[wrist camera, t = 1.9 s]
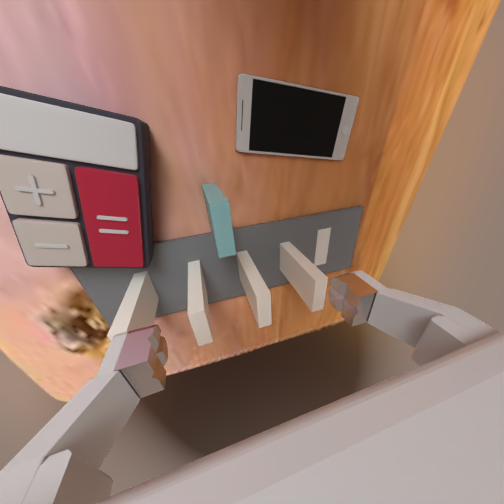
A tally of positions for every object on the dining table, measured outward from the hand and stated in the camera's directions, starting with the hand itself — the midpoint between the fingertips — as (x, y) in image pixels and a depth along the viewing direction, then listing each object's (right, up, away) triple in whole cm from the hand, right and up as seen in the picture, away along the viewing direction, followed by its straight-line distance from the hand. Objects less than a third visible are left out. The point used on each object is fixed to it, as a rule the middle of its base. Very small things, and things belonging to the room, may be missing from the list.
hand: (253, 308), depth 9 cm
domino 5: (+5, +2, +22) cm, 23 cm away
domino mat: (-2, +1, +22) cm, 22 cm away
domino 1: (-15, -2, +18) cm, 23 cm away
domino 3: (-5, +9, +16) cm, 19 cm away
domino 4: (-1, 0, +21) cm, 21 cm away
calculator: (-17, +9, +12) cm, 23 cm away
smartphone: (+5, +19, +15) cm, 25 cm away
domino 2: (-8, -1, +19) cm, 21 cm away
